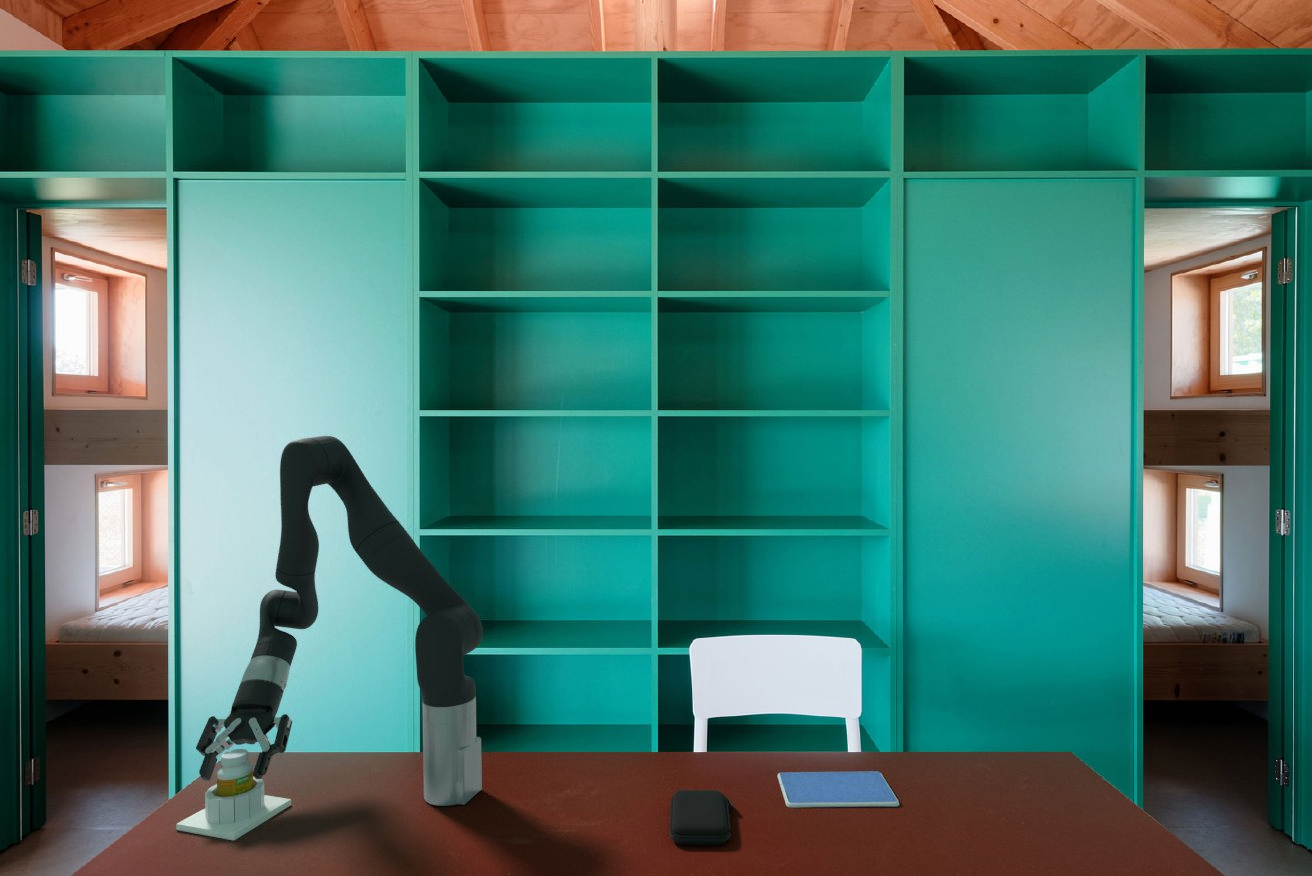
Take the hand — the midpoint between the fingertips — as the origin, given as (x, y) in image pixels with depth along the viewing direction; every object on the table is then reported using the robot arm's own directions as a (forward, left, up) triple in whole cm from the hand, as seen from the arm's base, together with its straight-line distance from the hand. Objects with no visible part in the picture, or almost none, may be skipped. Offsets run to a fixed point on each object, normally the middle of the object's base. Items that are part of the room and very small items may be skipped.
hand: (230, 778), depth 126 cm
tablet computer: (-96, -38, -8) cm, 104 cm away
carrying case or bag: (-76, -21, -8) cm, 79 cm away
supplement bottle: (+1, -1, -6) cm, 7 cm away
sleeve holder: (0, -1, -7) cm, 7 cm away
